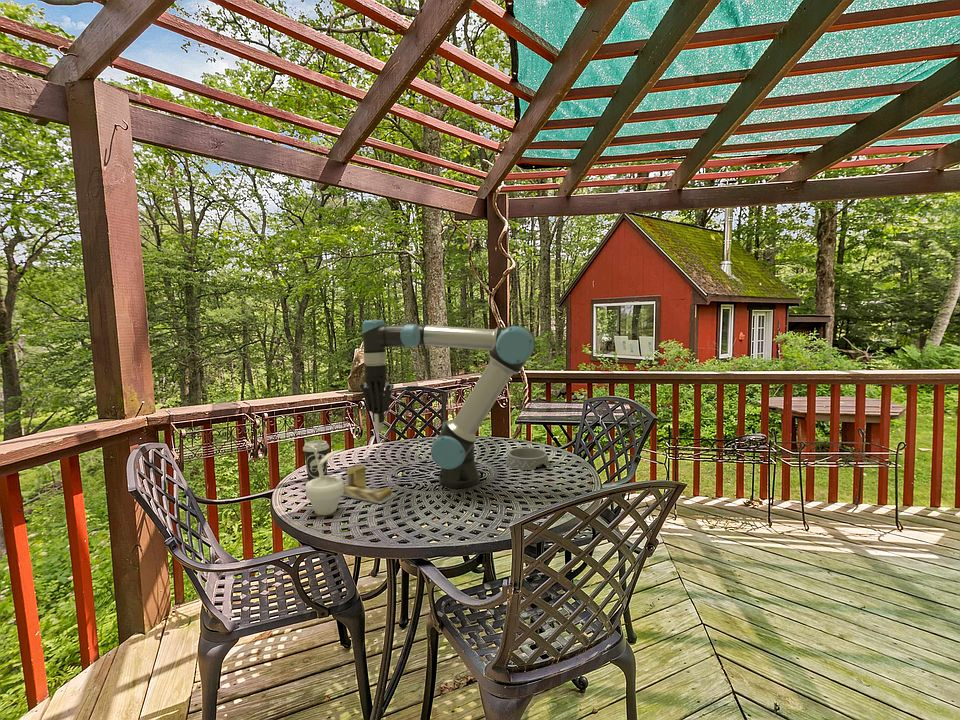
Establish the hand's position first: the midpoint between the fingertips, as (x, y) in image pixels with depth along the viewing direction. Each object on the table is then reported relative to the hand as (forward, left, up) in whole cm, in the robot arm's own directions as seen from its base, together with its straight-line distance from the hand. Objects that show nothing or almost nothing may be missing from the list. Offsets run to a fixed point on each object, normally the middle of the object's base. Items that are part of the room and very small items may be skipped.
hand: (379, 431), depth 169 cm
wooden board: (+2, +5, -22) cm, 23 cm away
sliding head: (+8, +4, -21) cm, 23 cm away
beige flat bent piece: (+2, +5, -21) cm, 22 cm away
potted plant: (+5, +21, -22) cm, 31 cm away
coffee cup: (+30, +2, -22) cm, 37 cm away
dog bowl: (-34, -52, -23) cm, 66 cm away
